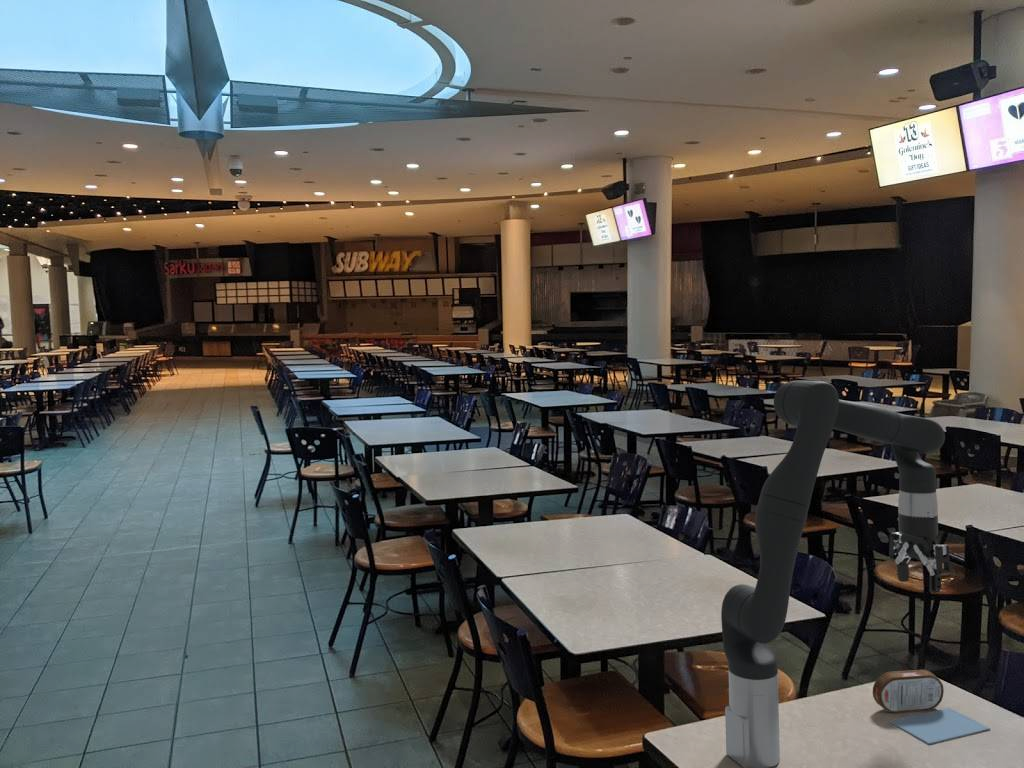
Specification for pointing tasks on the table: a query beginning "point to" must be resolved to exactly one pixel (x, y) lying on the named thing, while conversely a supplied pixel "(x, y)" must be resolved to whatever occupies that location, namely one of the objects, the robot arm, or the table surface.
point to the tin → (908, 691)
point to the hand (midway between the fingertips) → (918, 586)
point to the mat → (939, 725)
